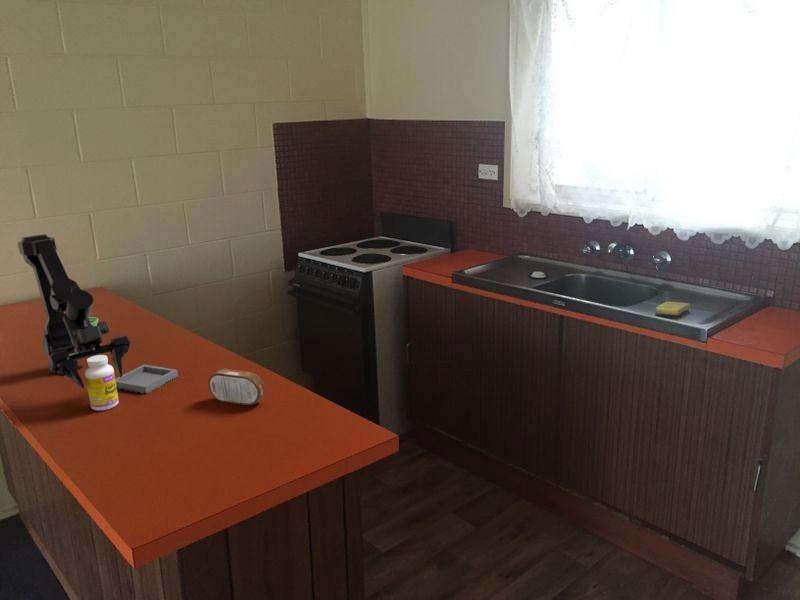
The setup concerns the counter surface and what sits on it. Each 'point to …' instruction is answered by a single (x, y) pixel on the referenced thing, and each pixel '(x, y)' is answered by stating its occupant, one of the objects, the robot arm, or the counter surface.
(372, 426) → the counter surface
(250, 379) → the tin
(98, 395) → the supplement bottle
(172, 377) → the tray
